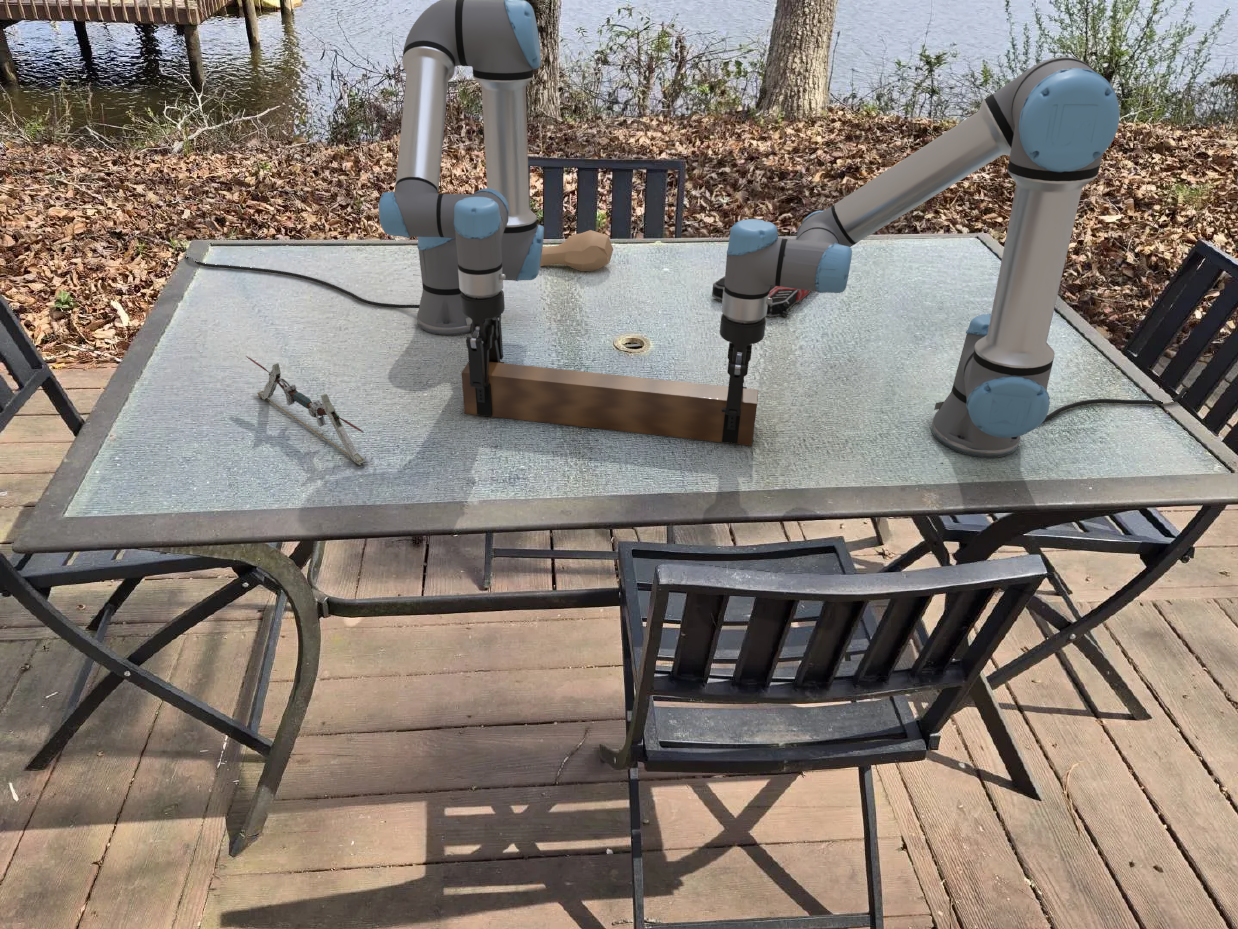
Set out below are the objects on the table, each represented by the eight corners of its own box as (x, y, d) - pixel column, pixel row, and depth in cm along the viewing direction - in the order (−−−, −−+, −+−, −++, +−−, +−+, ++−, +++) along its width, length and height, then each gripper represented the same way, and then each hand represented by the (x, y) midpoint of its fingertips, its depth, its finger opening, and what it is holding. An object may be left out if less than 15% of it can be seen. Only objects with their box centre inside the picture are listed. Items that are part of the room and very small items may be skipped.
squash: (614, 275, 223) (610, 243, 217) (537, 282, 224) (531, 251, 218) (615, 253, 231) (611, 222, 224) (540, 260, 232) (534, 229, 226)
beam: (464, 413, 164) (460, 372, 159) (473, 400, 168) (469, 359, 163) (751, 445, 157) (757, 403, 152) (753, 430, 161) (758, 389, 156)
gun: (708, 284, 207) (784, 305, 199) (760, 245, 229) (831, 262, 221) (706, 302, 209) (781, 323, 201) (758, 261, 231) (828, 278, 223)
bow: (375, 468, 148) (367, 417, 142) (366, 472, 146) (358, 421, 141) (259, 389, 169) (248, 342, 163) (250, 392, 168) (239, 345, 162)
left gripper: (487, 313, 144) (494, 434, 157) (516, 273, 159) (521, 385, 172) (443, 309, 145) (454, 429, 158) (477, 269, 160) (484, 382, 173)
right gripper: (764, 340, 138) (748, 463, 151) (768, 295, 153) (753, 410, 166) (717, 335, 139) (705, 458, 152) (725, 291, 154) (714, 406, 167)
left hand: (489, 406), depth 165 cm, fingers closed on beam, 5 cm apart
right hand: (730, 433), depth 159 cm, fingers closed on beam, 5 cm apart
